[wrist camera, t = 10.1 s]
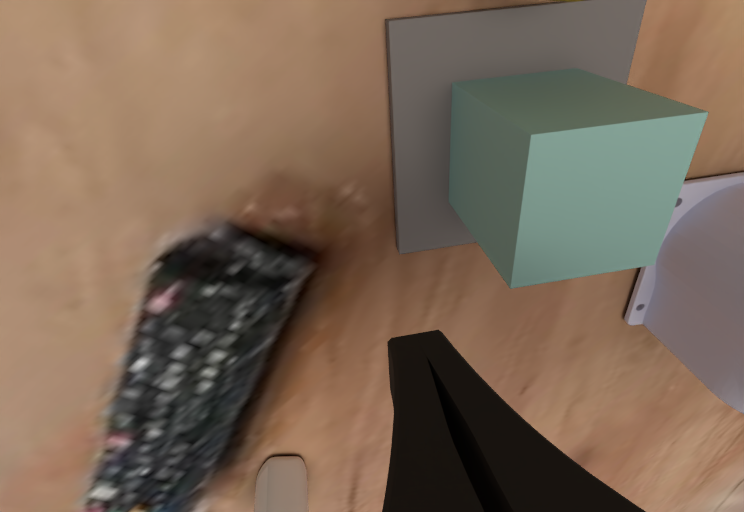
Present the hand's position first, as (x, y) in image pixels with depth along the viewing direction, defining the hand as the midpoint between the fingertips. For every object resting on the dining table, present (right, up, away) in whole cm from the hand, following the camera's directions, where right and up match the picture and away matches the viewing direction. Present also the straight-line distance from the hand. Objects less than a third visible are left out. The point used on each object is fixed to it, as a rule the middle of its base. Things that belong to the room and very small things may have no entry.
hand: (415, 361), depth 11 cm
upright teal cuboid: (+5, +8, +7) cm, 12 cm away
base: (+5, +8, +8) cm, 12 cm away
